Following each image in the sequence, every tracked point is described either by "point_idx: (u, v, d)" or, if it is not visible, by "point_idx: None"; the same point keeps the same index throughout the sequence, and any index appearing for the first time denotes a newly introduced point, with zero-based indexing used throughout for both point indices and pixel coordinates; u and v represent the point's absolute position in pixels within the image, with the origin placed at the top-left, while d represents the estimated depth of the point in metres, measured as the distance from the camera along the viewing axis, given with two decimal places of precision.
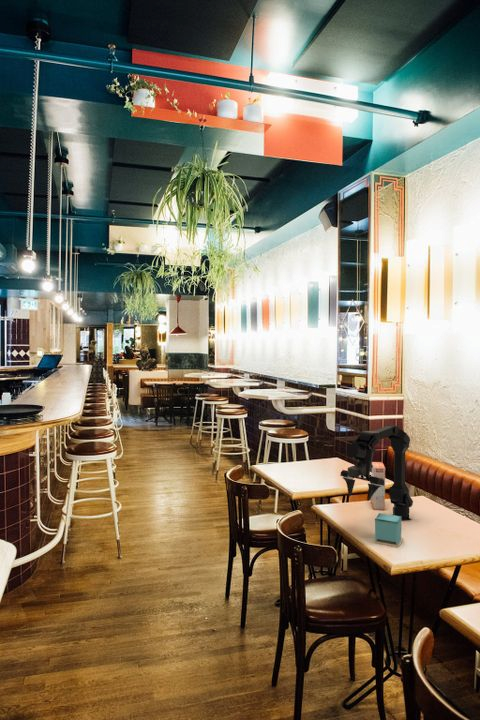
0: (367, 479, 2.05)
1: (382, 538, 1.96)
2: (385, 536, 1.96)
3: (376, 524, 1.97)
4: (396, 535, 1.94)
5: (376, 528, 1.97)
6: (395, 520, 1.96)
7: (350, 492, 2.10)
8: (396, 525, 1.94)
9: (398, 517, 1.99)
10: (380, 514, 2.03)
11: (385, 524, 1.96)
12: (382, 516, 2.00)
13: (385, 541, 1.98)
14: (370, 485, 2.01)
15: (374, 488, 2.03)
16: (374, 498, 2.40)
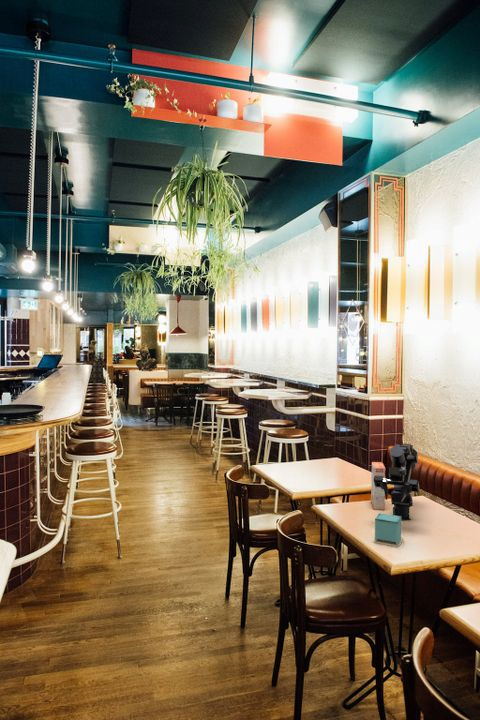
0: (403, 483, 2.13)
1: (382, 538, 1.96)
2: (385, 536, 1.96)
3: (376, 524, 1.97)
4: (396, 535, 1.94)
5: (376, 528, 1.97)
6: (395, 520, 1.96)
7: (387, 496, 2.12)
8: (396, 525, 1.94)
9: (398, 517, 1.99)
10: (380, 514, 2.03)
11: (385, 524, 1.96)
12: (382, 516, 2.00)
13: (385, 541, 1.98)
14: (406, 486, 2.10)
15: (406, 492, 2.12)
16: (374, 498, 2.40)
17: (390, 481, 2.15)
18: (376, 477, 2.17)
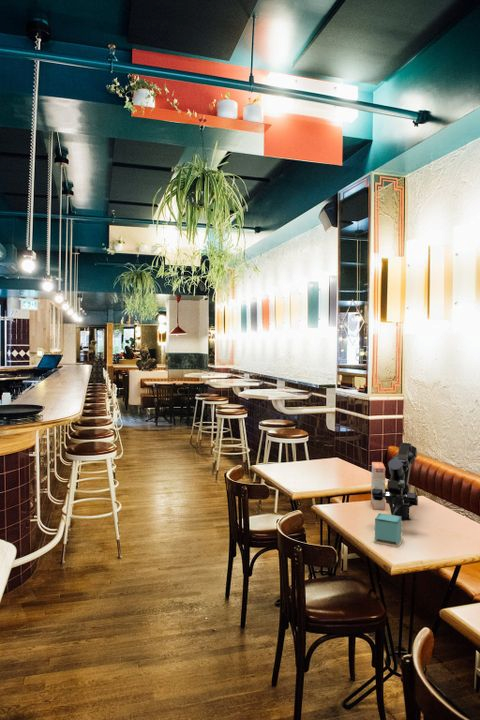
0: (401, 497, 2.10)
1: (382, 538, 1.96)
2: (385, 536, 1.96)
3: (376, 524, 1.97)
4: (396, 535, 1.94)
5: (376, 528, 1.97)
6: (395, 520, 1.96)
7: None
8: (396, 525, 1.94)
9: (398, 517, 1.99)
10: (380, 514, 2.03)
11: (385, 524, 1.96)
12: (382, 516, 2.00)
13: (385, 541, 1.98)
14: (397, 498, 2.08)
15: (398, 504, 2.10)
16: None
17: None
18: (374, 490, 2.14)
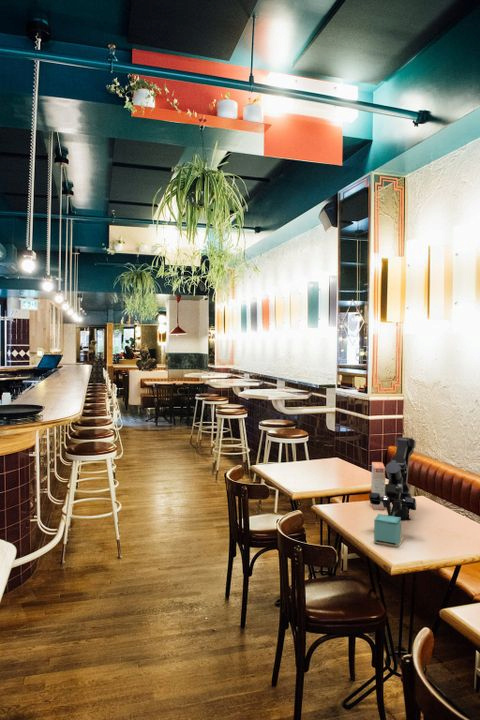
0: (399, 501, 2.05)
1: (381, 539, 1.95)
2: (384, 537, 1.95)
3: (375, 525, 1.96)
4: (395, 536, 1.93)
5: (375, 529, 1.96)
6: (394, 521, 1.94)
7: None
8: (395, 526, 1.93)
9: (397, 518, 1.98)
10: (379, 515, 2.02)
11: (384, 525, 1.94)
12: (381, 517, 1.99)
13: None
14: (395, 503, 2.03)
15: (395, 509, 2.05)
16: None
17: None
18: (372, 494, 2.09)
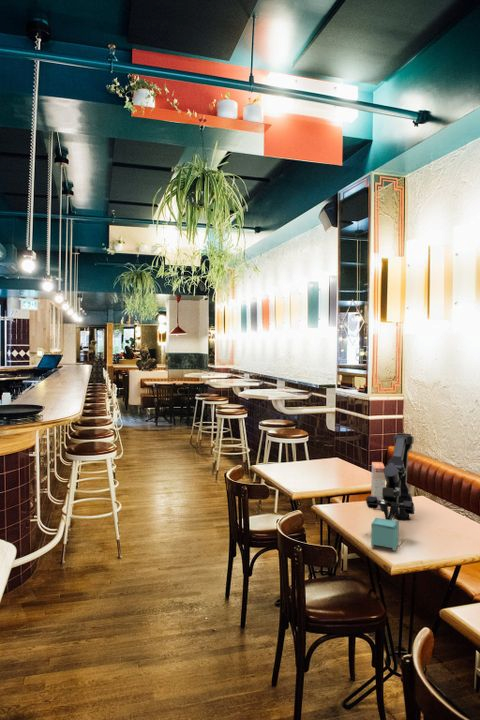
0: (397, 505, 2.00)
1: (379, 544, 1.90)
2: (382, 542, 1.90)
3: (372, 529, 1.91)
4: (393, 541, 1.88)
5: (372, 533, 1.91)
6: (392, 525, 1.90)
7: None
8: (393, 530, 1.88)
9: (395, 522, 1.93)
10: (377, 519, 1.97)
11: (382, 529, 1.90)
12: (379, 521, 1.94)
13: None
14: (393, 506, 1.98)
15: (393, 513, 2.00)
16: None
17: None
18: (369, 498, 2.04)
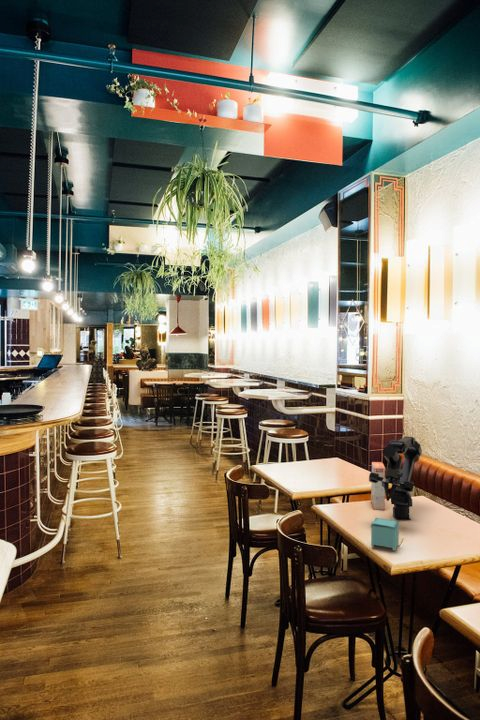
0: (398, 483, 2.13)
1: (379, 544, 1.90)
2: (382, 542, 1.90)
3: (372, 530, 1.91)
4: (393, 541, 1.88)
5: (372, 533, 1.91)
6: (392, 525, 1.90)
7: None
8: (393, 530, 1.88)
9: (395, 522, 1.93)
10: (377, 519, 1.97)
11: (382, 529, 1.90)
12: (379, 521, 1.94)
13: None
14: (394, 486, 2.11)
15: (393, 490, 2.14)
16: (374, 498, 2.40)
17: None
18: (372, 475, 2.15)
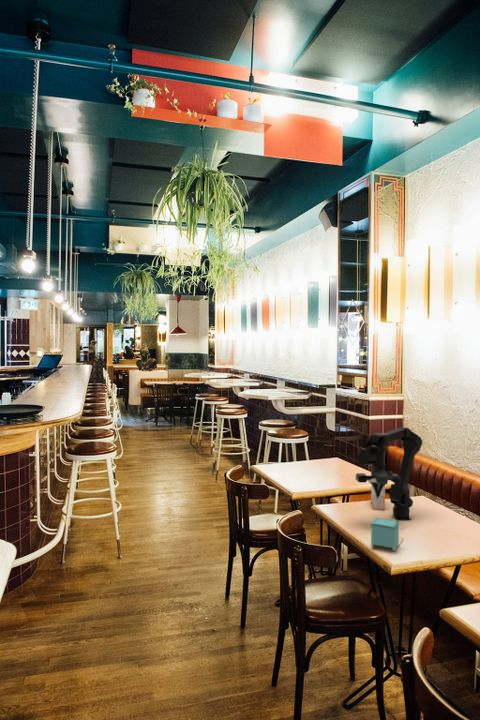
0: None
1: (379, 544, 1.90)
2: (382, 542, 1.90)
3: (372, 530, 1.91)
4: (393, 541, 1.88)
5: (372, 533, 1.91)
6: (392, 525, 1.90)
7: None
8: (393, 530, 1.88)
9: (395, 522, 1.93)
10: (377, 519, 1.97)
11: (382, 529, 1.90)
12: (379, 521, 1.94)
13: None
14: (383, 484, 2.16)
15: None
16: (374, 498, 2.40)
17: None
18: (361, 479, 2.15)
